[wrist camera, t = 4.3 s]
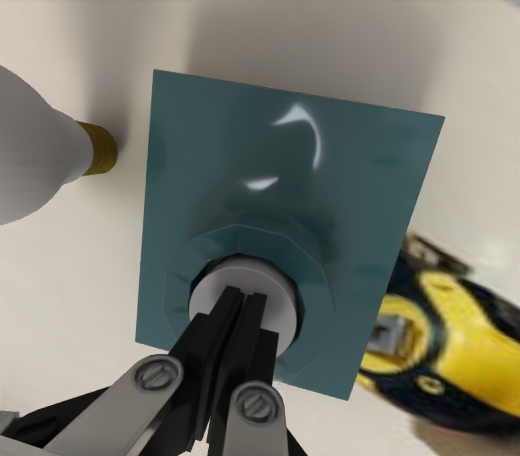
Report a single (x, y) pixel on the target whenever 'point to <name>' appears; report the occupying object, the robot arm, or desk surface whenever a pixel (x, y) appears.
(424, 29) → the desk surface
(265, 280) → the grey push button
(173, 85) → the teal button base
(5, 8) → the desk surface
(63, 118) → the light bulb
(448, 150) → the desk surface
